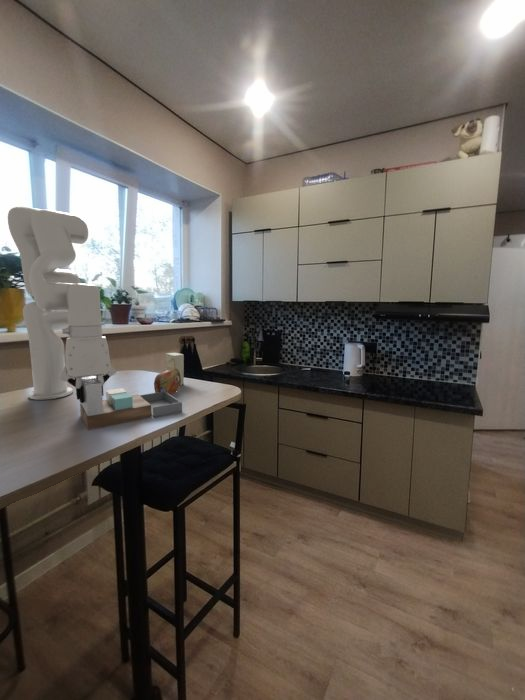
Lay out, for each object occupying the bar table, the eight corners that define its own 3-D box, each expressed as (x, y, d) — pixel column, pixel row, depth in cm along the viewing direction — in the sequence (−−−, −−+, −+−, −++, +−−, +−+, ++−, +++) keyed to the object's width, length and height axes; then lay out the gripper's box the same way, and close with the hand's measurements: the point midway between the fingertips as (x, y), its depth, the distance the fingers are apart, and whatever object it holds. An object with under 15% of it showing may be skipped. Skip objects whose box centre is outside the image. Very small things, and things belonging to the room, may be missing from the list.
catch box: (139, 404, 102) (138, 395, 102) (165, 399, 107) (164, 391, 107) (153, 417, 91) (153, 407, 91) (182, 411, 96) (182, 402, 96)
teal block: (111, 405, 90) (110, 395, 89) (128, 403, 92) (127, 392, 92) (115, 410, 86) (114, 399, 86) (132, 407, 89) (132, 396, 88)
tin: (161, 401, 106) (160, 375, 105) (152, 400, 107) (151, 375, 106) (181, 388, 121) (181, 366, 119) (174, 388, 121) (173, 366, 120)
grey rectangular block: (87, 416, 81) (85, 385, 80) (79, 401, 92) (77, 373, 91) (103, 413, 83) (101, 383, 82) (93, 399, 94) (91, 372, 93)
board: (80, 415, 92) (79, 403, 91) (138, 405, 101) (138, 394, 101) (88, 429, 82) (87, 416, 82) (151, 416, 92) (151, 405, 91)
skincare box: (165, 383, 127) (164, 353, 125) (175, 381, 130) (175, 352, 128) (174, 387, 123) (173, 355, 121) (184, 384, 126) (184, 354, 124)
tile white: (106, 400, 94) (106, 390, 94) (122, 397, 97) (122, 388, 97) (110, 404, 91) (109, 394, 90) (126, 401, 94) (126, 391, 93)
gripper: (49, 335, 76) (55, 410, 79) (123, 332, 86) (126, 398, 89) (46, 332, 82) (52, 402, 85) (116, 329, 92) (119, 392, 95)
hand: (90, 399), depth 87 cm, fingers closed on grey rectangular block, 3 cm apart
